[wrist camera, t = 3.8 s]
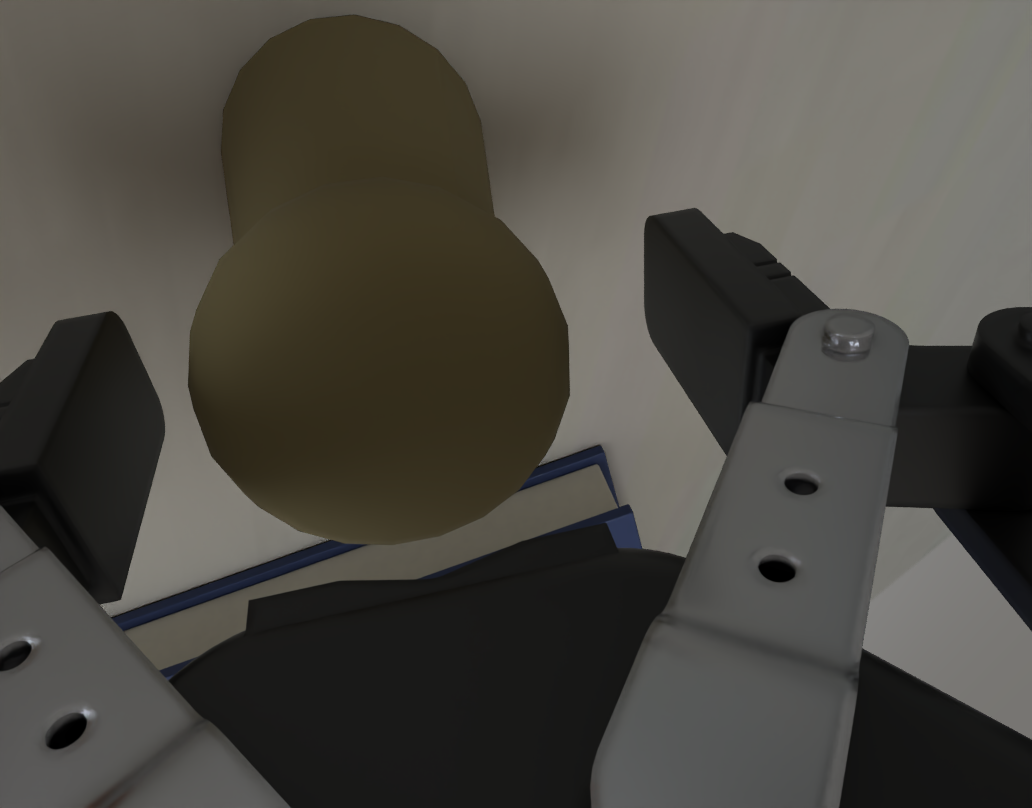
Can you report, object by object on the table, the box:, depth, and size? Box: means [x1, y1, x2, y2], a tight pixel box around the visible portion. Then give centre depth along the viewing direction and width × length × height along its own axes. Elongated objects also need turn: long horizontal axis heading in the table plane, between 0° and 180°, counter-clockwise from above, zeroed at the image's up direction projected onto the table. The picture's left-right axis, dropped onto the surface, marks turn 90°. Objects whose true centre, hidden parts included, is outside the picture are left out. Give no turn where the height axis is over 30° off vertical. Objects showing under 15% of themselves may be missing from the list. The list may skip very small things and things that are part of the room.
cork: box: [188, 15, 570, 545], centre depth 14 cm, size 6×6×11 cm
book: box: [112, 446, 642, 680], centre depth 28 cm, size 20×14×3 cm
